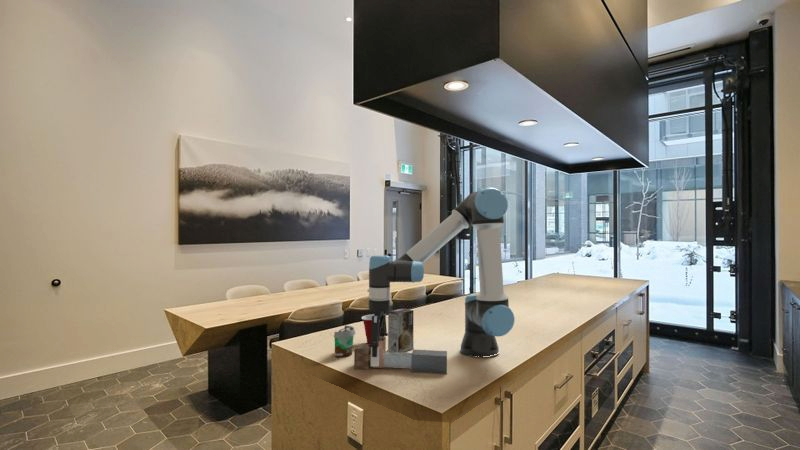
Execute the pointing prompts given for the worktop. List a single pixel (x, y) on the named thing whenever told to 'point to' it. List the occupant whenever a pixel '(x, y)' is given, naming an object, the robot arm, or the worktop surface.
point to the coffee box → (400, 330)
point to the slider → (391, 357)
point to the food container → (344, 342)
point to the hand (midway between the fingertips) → (378, 360)
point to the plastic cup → (368, 326)
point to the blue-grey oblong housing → (429, 361)
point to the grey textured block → (362, 356)
